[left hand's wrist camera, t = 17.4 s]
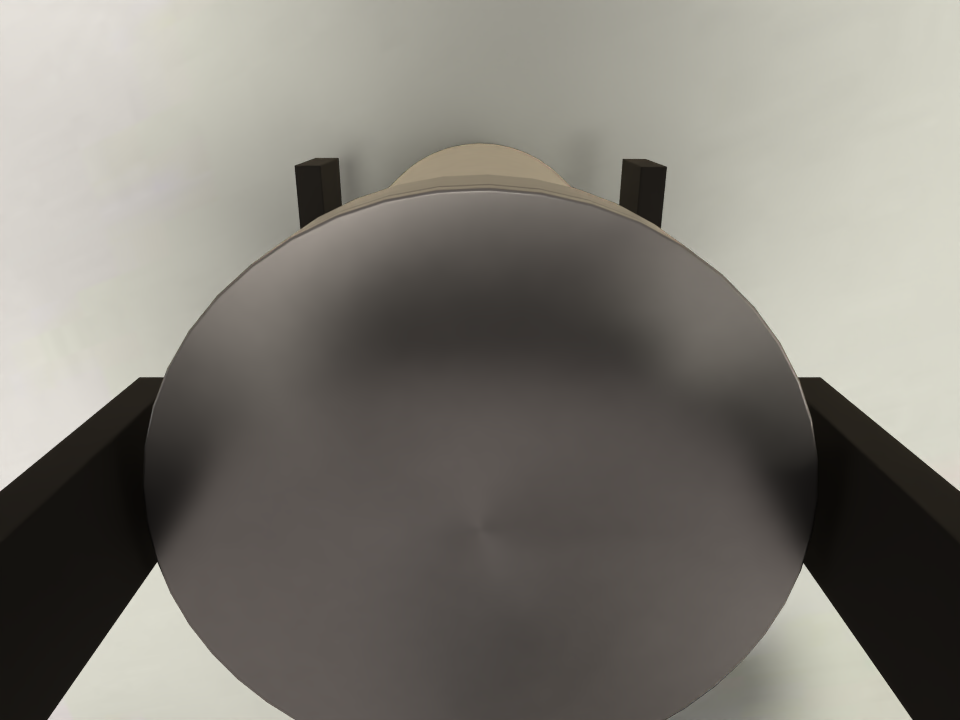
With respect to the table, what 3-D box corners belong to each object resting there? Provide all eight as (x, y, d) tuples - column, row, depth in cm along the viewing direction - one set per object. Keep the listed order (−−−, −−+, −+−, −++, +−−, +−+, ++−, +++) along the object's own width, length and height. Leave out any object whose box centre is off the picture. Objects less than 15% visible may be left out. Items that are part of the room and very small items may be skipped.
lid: (343, 745, 15) (325, 825, 13) (69, 315, 11) (0, 352, 10) (825, 604, 13) (872, 674, 12) (686, 63, 10) (728, 57, 8)
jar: (324, 282, 28) (96, 553, 12) (456, 91, 26) (411, 78, 9) (500, 403, 30) (526, 786, 14) (639, 238, 28) (888, 458, 11)
